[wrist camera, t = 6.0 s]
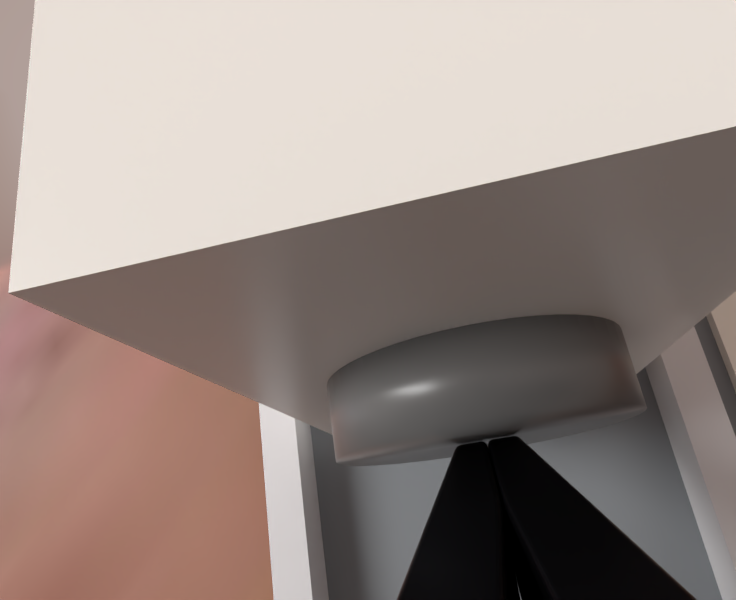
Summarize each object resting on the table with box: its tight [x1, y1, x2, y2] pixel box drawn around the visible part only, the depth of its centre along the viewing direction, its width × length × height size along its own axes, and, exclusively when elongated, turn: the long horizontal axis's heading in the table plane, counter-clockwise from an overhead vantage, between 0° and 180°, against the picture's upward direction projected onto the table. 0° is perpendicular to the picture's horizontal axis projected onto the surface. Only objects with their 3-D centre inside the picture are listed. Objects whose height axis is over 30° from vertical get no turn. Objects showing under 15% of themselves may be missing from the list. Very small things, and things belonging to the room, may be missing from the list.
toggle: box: [8, 0, 736, 466], centre depth 9 cm, size 6×6×10 cm
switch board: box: [259, 291, 736, 600], centre depth 11 cm, size 18×15×3 cm
